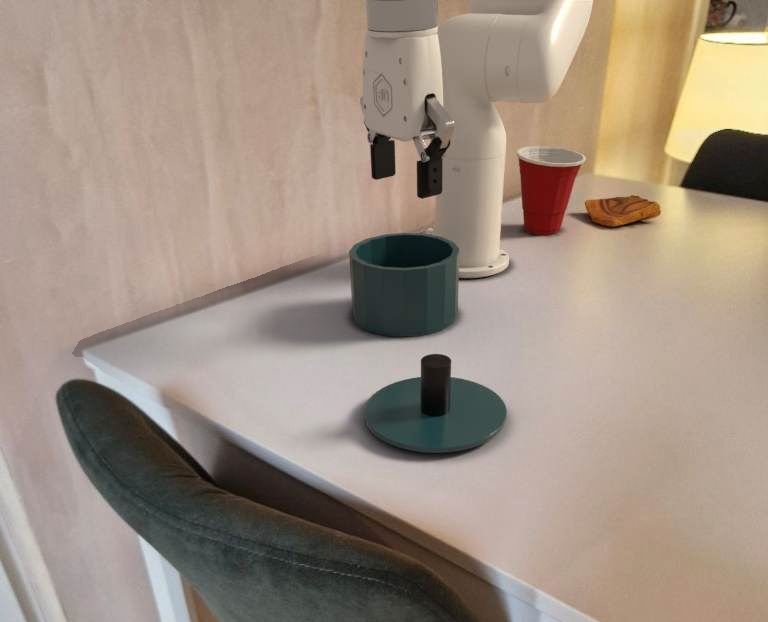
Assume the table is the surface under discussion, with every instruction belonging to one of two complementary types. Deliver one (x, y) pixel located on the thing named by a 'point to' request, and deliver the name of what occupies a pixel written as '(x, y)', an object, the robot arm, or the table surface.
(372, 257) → the pot
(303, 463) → the table surface
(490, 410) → the lid
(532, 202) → the plastic cup
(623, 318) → the table surface
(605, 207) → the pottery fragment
